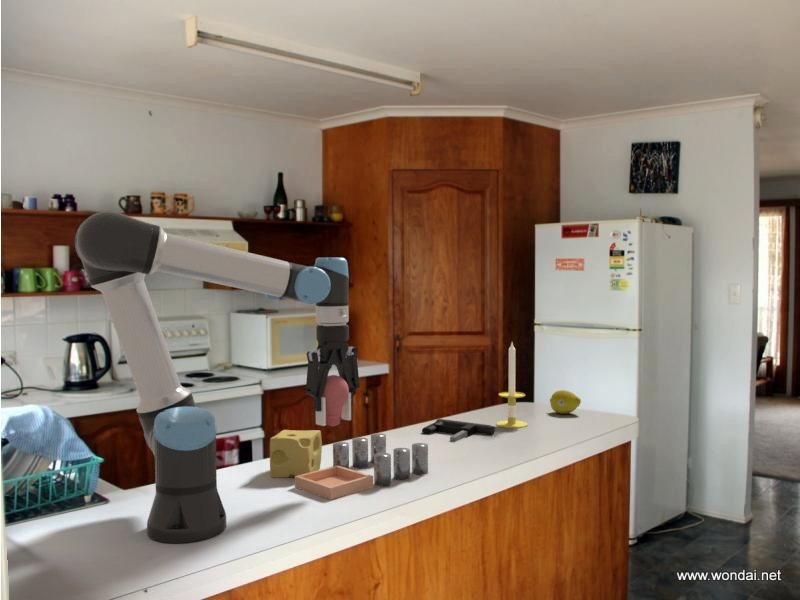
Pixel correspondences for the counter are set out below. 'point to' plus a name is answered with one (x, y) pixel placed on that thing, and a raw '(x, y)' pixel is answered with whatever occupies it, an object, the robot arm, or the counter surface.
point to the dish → (333, 482)
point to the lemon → (564, 402)
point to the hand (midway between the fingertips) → (333, 421)
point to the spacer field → (382, 458)
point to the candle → (511, 396)
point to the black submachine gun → (458, 428)
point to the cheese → (295, 453)
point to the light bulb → (335, 398)
